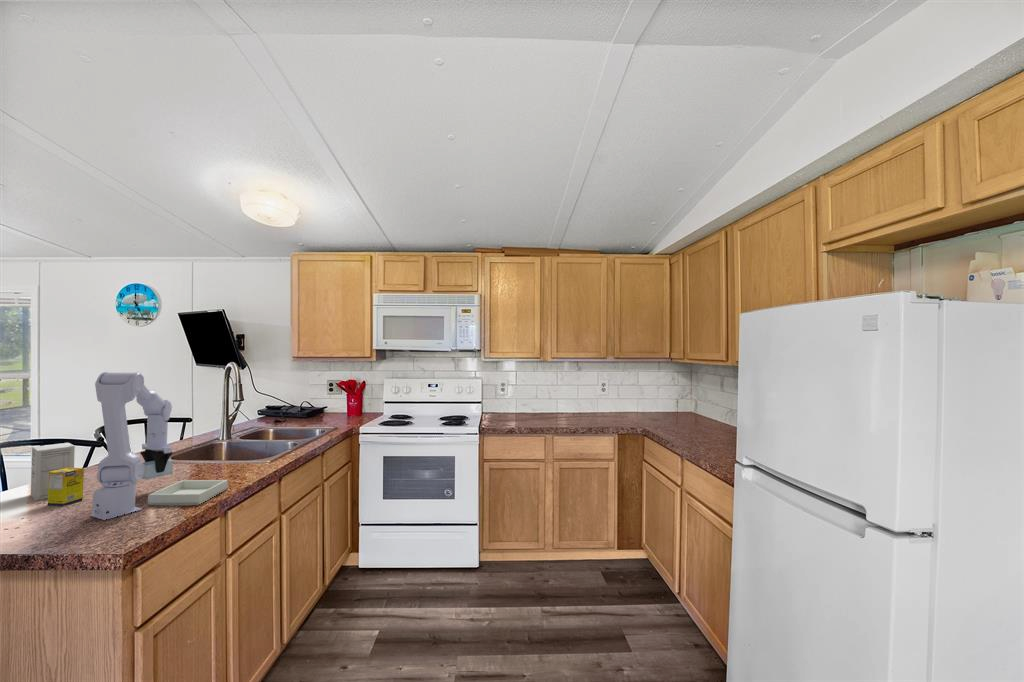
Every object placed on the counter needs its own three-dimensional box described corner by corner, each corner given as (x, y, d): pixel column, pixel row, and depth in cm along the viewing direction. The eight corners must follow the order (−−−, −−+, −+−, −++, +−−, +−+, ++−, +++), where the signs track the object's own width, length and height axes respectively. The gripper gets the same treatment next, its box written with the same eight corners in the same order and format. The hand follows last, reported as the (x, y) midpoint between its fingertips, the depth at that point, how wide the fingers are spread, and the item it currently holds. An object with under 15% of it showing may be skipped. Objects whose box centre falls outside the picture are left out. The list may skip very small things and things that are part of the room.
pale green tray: (199, 505, 142) (199, 494, 142) (147, 505, 140) (148, 494, 140) (227, 489, 158) (227, 479, 158) (181, 489, 156) (182, 480, 156)
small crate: (146, 479, 149) (147, 465, 150) (138, 477, 151) (139, 463, 152) (172, 473, 157) (172, 460, 157) (164, 472, 159) (164, 458, 159)
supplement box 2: (68, 488, 156) (70, 441, 157) (74, 493, 151) (76, 445, 151) (29, 495, 148) (31, 446, 149) (34, 500, 143) (36, 450, 144)
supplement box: (83, 500, 144) (84, 467, 145) (63, 506, 138) (64, 472, 139) (67, 499, 145) (69, 466, 145) (46, 505, 139) (48, 471, 139)
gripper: (181, 433, 155) (180, 470, 155) (158, 429, 161) (156, 466, 161) (159, 436, 149) (157, 475, 148) (135, 432, 155) (134, 470, 154)
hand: (155, 471), depth 154 cm, fingers closed on small crate, 5 cm apart
